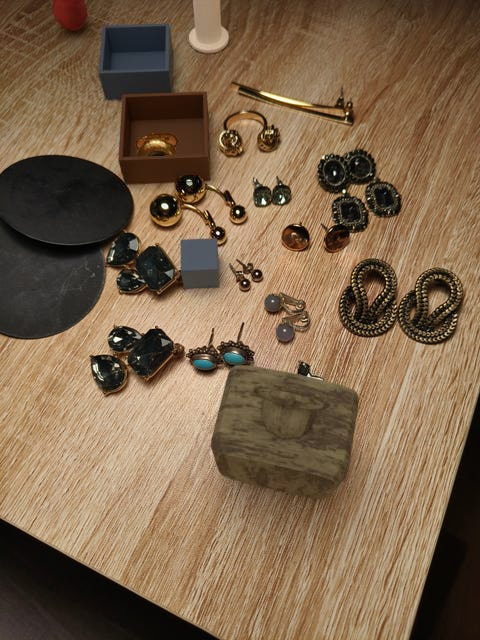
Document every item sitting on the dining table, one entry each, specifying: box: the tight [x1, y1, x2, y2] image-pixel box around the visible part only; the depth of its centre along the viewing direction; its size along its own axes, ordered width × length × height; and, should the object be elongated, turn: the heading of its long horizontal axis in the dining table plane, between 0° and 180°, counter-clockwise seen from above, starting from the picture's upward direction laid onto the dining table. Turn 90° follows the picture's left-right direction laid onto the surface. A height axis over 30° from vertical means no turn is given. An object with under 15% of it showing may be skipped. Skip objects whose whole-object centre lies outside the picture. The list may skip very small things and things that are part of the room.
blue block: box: [180, 237, 220, 290], centre depth 83 cm, size 5×5×5 cm
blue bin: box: [98, 22, 174, 101], centre depth 100 cm, size 11×11×6 cm
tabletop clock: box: [210, 364, 360, 500], centre depth 62 cm, size 14×9×25 cm, turn 77°
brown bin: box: [117, 91, 211, 185], centre depth 93 cm, size 13×13×6 cm
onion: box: [51, 0, 89, 32], centre depth 104 cm, size 6×6×8 cm
